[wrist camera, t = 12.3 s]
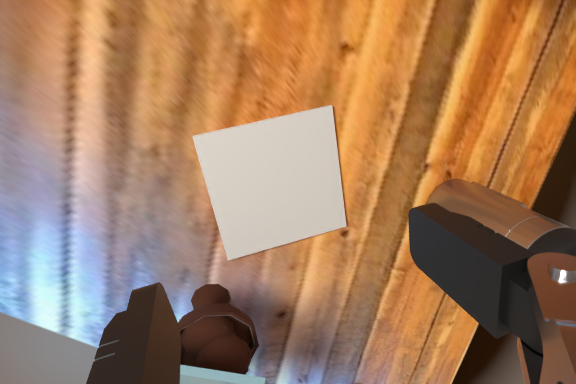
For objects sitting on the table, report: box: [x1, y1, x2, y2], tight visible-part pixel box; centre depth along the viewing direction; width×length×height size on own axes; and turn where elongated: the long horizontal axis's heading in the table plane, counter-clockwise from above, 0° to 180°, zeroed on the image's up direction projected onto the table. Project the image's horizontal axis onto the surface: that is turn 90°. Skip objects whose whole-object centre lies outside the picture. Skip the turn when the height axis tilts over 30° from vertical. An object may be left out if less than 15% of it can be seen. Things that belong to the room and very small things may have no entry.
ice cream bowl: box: [178, 284, 259, 375], centre depth 44 cm, size 11×11×15 cm
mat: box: [192, 105, 346, 260], centre depth 46 cm, size 18×18×1 cm
